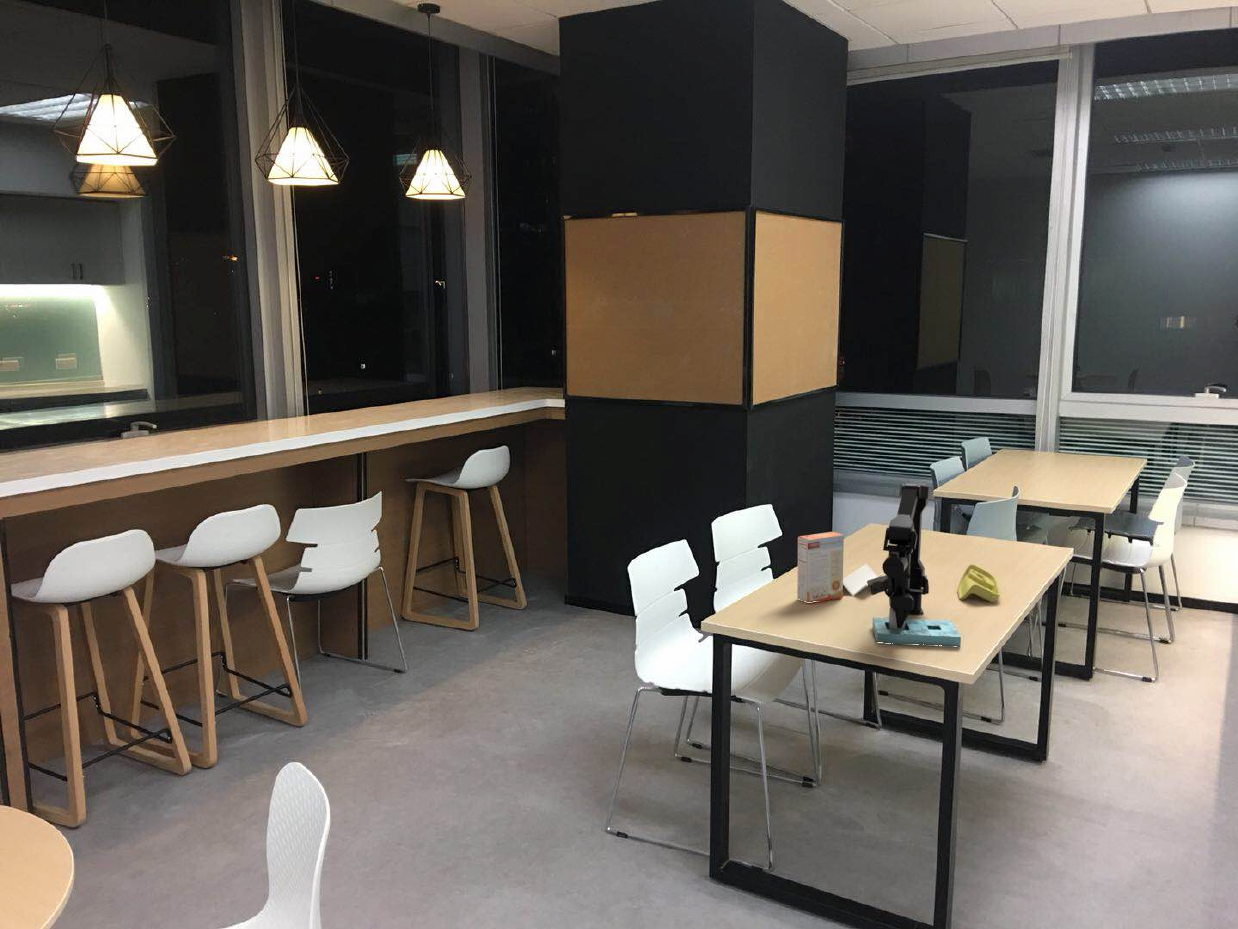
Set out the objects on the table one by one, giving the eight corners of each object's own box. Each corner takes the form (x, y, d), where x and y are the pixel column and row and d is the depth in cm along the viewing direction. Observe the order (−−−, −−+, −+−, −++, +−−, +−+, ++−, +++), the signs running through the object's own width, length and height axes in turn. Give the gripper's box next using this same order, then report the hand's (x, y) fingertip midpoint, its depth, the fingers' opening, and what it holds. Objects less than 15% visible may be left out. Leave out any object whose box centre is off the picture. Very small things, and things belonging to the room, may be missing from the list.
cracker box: (831, 593, 315) (833, 530, 311) (843, 598, 309) (845, 534, 306) (795, 599, 309) (797, 535, 306) (807, 604, 303) (808, 539, 300)
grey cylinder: (887, 633, 276) (888, 606, 275) (903, 634, 276) (904, 607, 274) (889, 638, 272) (890, 611, 271) (905, 639, 271) (906, 611, 270)
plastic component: (1001, 597, 302) (971, 581, 304) (988, 616, 305) (959, 601, 306) (995, 575, 321) (967, 561, 322) (984, 593, 323) (956, 579, 325)
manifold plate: (872, 627, 282) (872, 617, 281) (951, 630, 278) (952, 620, 278) (877, 643, 268) (877, 633, 267) (960, 647, 264) (960, 637, 264)
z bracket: (840, 607, 315) (827, 591, 317) (865, 588, 336) (853, 574, 338) (866, 585, 309) (853, 570, 311) (891, 567, 330) (878, 553, 332)
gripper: (866, 559, 281) (864, 611, 284) (872, 577, 263) (870, 632, 265) (906, 560, 279) (904, 612, 282) (915, 578, 261) (913, 634, 264)
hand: (897, 622), depth 273 cm, fingers open, 9 cm apart
